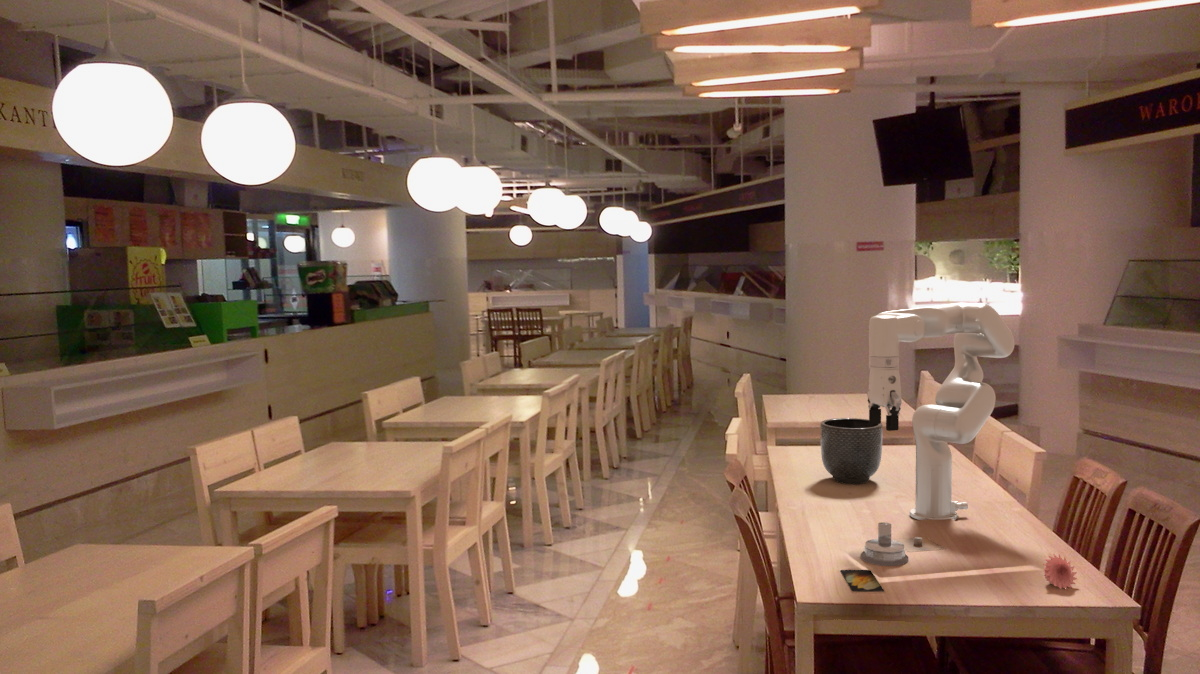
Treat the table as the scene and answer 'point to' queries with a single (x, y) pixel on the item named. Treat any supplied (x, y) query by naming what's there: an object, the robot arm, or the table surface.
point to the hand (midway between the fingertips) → (883, 427)
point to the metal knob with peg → (884, 546)
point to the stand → (920, 544)
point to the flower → (1059, 572)
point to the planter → (851, 449)
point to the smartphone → (862, 581)
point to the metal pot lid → (884, 562)
